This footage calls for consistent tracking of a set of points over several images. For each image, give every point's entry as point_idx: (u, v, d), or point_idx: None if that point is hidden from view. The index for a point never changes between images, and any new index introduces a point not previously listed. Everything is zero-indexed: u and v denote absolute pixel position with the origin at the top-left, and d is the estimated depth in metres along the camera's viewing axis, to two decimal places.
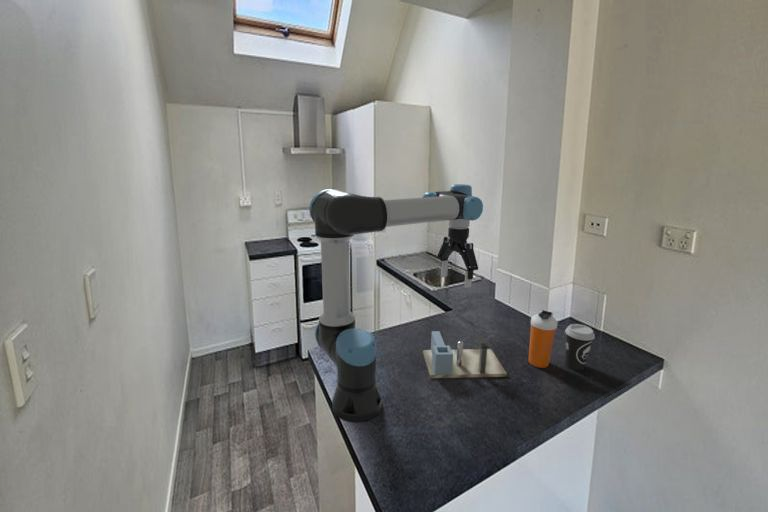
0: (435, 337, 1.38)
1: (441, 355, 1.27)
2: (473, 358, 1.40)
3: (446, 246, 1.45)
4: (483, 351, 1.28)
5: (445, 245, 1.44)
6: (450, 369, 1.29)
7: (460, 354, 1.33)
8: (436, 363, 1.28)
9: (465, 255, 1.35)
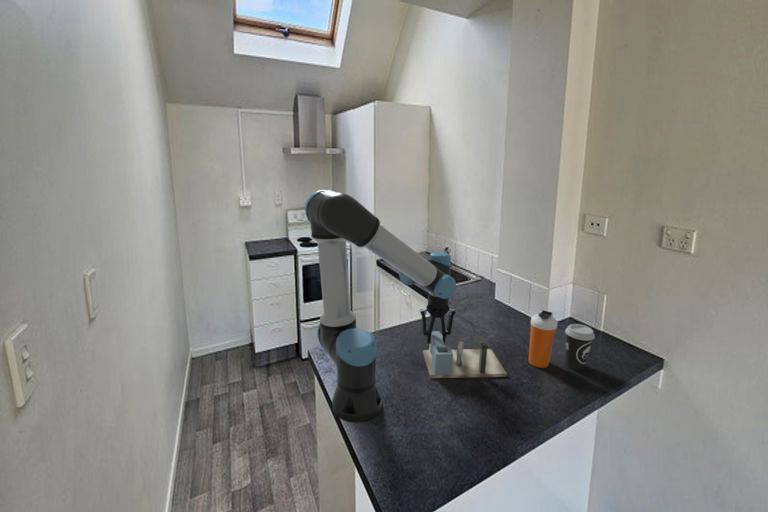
0: (435, 337, 1.38)
1: (441, 355, 1.27)
2: (473, 358, 1.40)
3: (449, 319, 1.40)
4: (483, 351, 1.28)
5: (448, 316, 1.40)
6: (450, 369, 1.29)
7: (460, 354, 1.33)
8: (436, 363, 1.28)
9: (430, 320, 1.40)
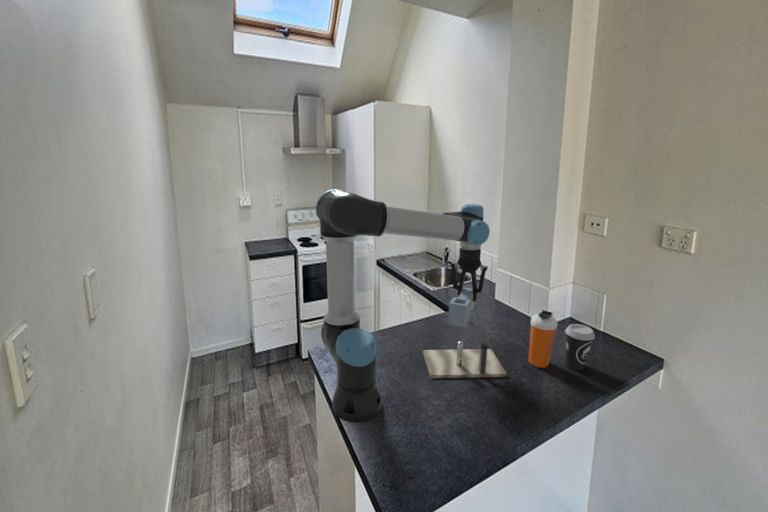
0: (463, 292, 1.36)
1: (454, 305, 1.26)
2: (473, 358, 1.40)
3: (480, 276, 1.35)
4: (483, 351, 1.28)
5: None
6: (464, 321, 1.26)
7: (460, 354, 1.33)
8: (450, 312, 1.27)
9: None
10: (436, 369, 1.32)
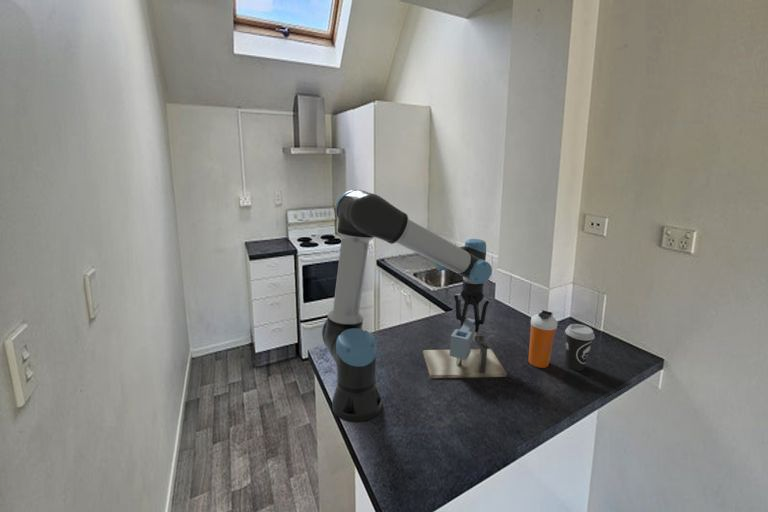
0: (465, 323, 1.40)
1: (456, 338, 1.30)
2: (473, 358, 1.40)
3: (483, 308, 1.38)
4: (483, 351, 1.28)
5: None
6: (464, 354, 1.30)
7: None
8: (451, 344, 1.31)
9: None
10: (436, 369, 1.32)
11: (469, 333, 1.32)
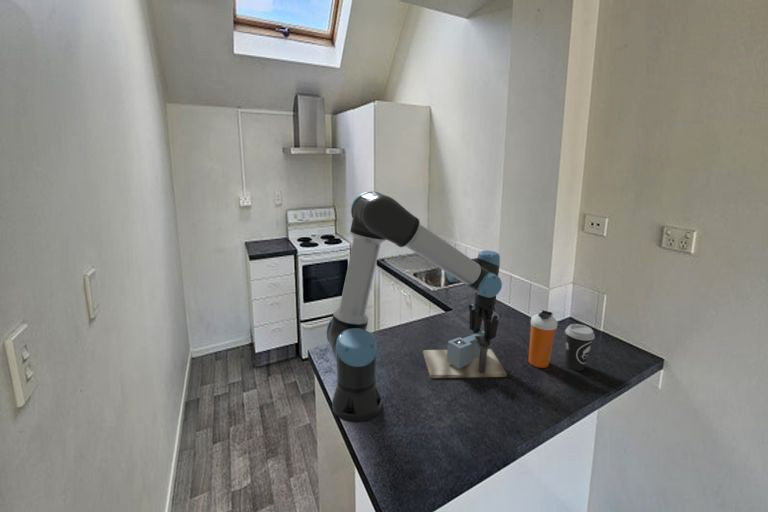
0: (475, 334, 1.39)
1: (451, 344, 1.32)
2: None
3: None
4: (483, 351, 1.28)
5: None
6: (457, 362, 1.31)
7: None
8: (448, 350, 1.34)
9: None
10: (436, 369, 1.32)
11: (468, 343, 1.32)
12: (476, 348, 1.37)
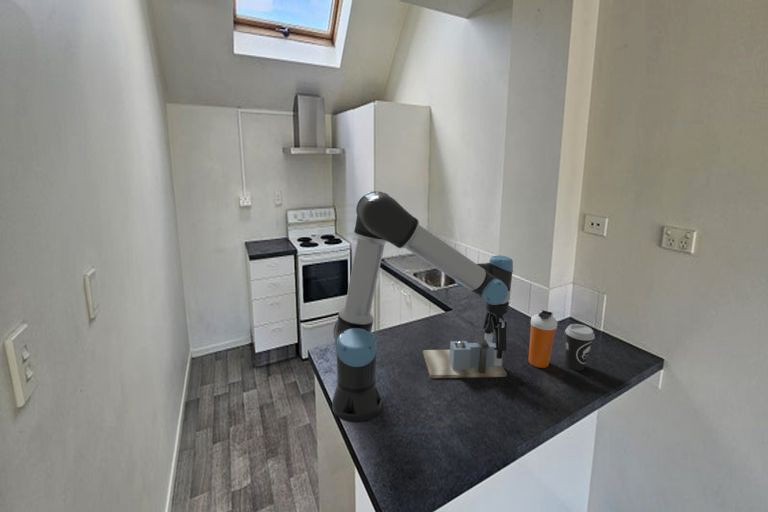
0: None
1: (451, 344, 1.34)
2: None
3: None
4: (483, 351, 1.28)
5: None
6: (452, 363, 1.32)
7: None
8: (450, 350, 1.36)
9: None
10: (436, 369, 1.32)
11: (467, 348, 1.31)
12: None
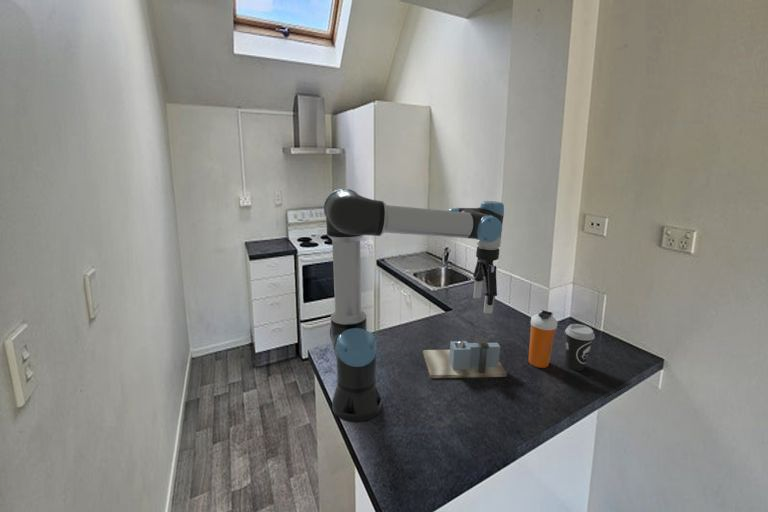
0: None
1: (451, 344, 1.34)
2: None
3: None
4: (483, 351, 1.28)
5: None
6: (452, 363, 1.32)
7: None
8: (450, 350, 1.36)
9: None
10: (436, 369, 1.32)
11: (467, 348, 1.31)
12: None
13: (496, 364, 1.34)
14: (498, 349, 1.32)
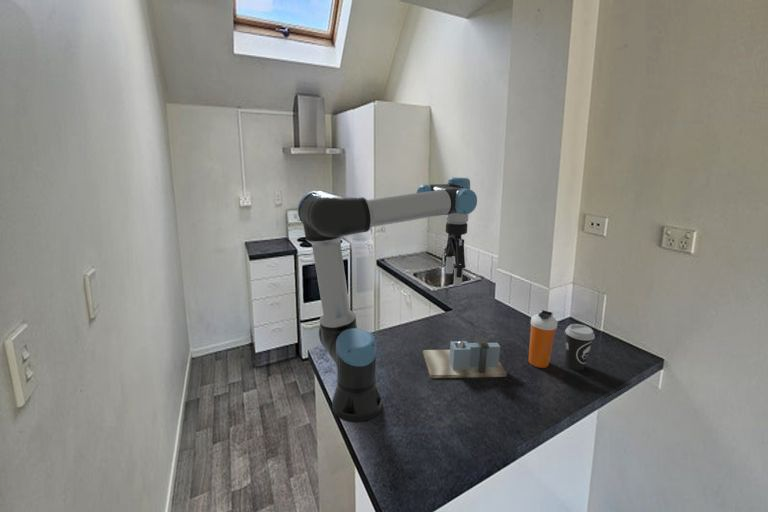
0: None
1: (451, 344, 1.34)
2: None
3: None
4: (483, 351, 1.28)
5: None
6: (452, 363, 1.32)
7: None
8: (450, 350, 1.36)
9: None
10: (436, 369, 1.32)
11: (467, 348, 1.31)
12: None
13: (496, 364, 1.34)
14: (498, 349, 1.32)
